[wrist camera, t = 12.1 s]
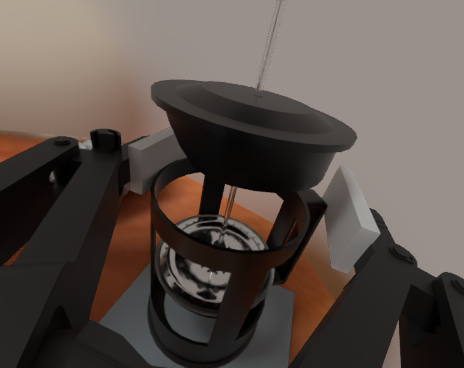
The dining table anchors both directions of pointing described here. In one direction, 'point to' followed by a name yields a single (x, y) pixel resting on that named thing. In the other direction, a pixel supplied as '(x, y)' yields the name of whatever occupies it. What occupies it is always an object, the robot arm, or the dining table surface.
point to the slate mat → (203, 326)
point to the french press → (222, 227)
